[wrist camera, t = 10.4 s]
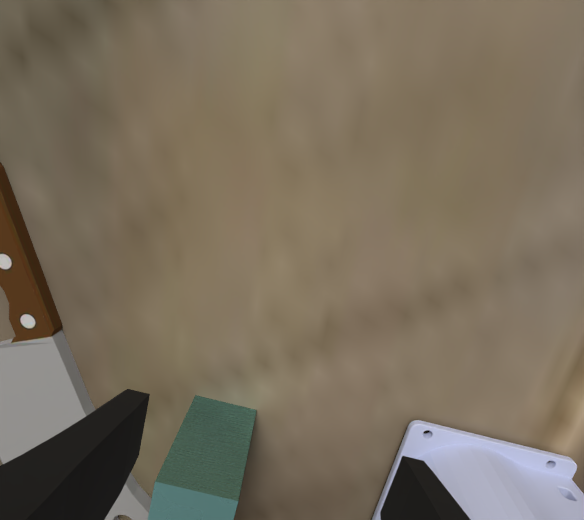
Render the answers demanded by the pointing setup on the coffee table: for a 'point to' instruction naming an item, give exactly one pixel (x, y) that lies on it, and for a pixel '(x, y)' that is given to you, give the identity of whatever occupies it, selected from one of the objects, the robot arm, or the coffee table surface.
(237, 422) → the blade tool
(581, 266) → the coffee table surface
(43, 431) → the kitchen cleaver
